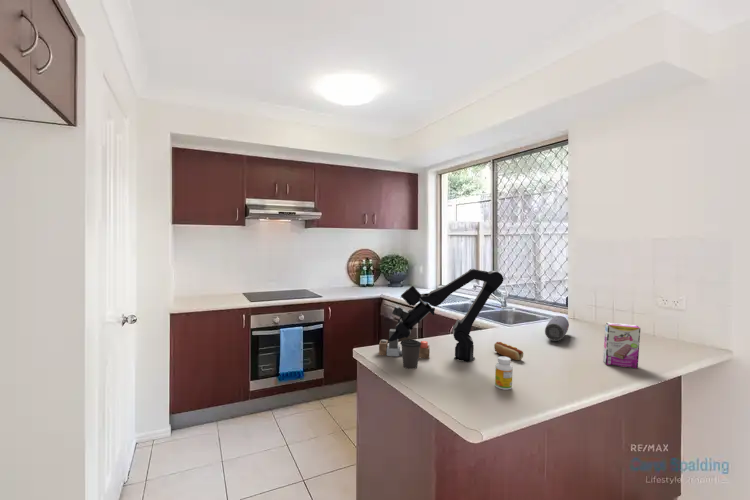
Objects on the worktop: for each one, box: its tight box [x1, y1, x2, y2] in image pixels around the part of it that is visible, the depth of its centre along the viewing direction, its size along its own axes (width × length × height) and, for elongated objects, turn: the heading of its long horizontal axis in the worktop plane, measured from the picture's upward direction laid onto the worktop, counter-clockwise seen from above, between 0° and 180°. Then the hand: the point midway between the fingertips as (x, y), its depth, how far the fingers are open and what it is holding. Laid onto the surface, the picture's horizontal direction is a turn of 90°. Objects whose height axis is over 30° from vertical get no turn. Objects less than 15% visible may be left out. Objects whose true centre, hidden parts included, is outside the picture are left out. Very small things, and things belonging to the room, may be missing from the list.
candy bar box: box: [602, 321, 641, 369], centre depth 146 cm, size 11×5×16 cm, turn 71°
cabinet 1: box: [378, 339, 389, 357], centre depth 155 cm, size 3×5×6 cm, turn 171°
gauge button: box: [420, 340, 429, 349], centre depth 153 cm, size 3×3×4 cm
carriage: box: [386, 328, 401, 357], centre depth 154 cm, size 5×6×10 cm
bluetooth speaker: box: [544, 315, 570, 342], centre depth 185 cm, size 23×9×10 cm, turn 147°
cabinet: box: [418, 344, 431, 359], centre depth 153 cm, size 5×5×4 cm
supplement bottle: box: [494, 355, 513, 391], centre depth 123 cm, size 5×5×10 cm
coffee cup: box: [399, 338, 421, 370], centre depth 140 cm, size 8×8×10 cm
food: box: [493, 341, 524, 361], centre depth 155 cm, size 14×6×5 cm, turn 25°
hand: (390, 338), depth 155 cm, fingers open, 7 cm apart
